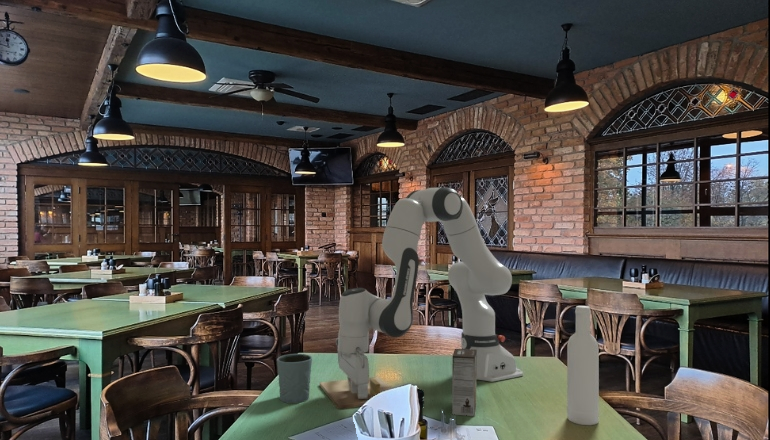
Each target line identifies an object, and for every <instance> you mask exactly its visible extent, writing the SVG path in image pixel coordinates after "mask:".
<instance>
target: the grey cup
mask: <svg viewBox="0 0 770 440" xmlns="http://www.w3.org/2000/svg"><path fill="white" fill-rule="evenodd" d="M312 361H313V356H311V355H309V354H304V353H289V354H284V355H281V356H279V357H278V358H277V359H276V365H277V374H278V386H279V400H280V401H281V402H282V403H287V404H299V403H304V402H306V401H308V400H309V399H310V387H311V384H310V383H311V374H312V373H311V372H312V363H313V362H312Z"/></svg>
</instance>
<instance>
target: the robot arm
mask: <svg viewBox="0 0 770 440" xmlns="http://www.w3.org/2000/svg"><path fill="white" fill-rule="evenodd" d="M425 222H426V223H436V222H441V223H442V226H443V230H444V233H445V235H446V238H447V240H448V243H449V246H450V249H451V251H452V253H453V255H454V256H455V257H456V258H458V259H459V260H460V261H459V262H455V263H453V264H452V265H451V266H450V267H449V270H448V274H447V279H448V282H449V284H450V286H452V287H451V288H453V289H454V291H455V292H456V294H457V297H458V300H459V303H460V307H461V313H462V315H461V316H462V332H461V335H460V336H461V338H460V342H461V343H460V345H461V349H476V350H477V375H476V381H477V380H479V381H485V382H493V383H494V382H497V381H499V382H500V381H503V380H508V379H513V378H518V377H523V376H524V372H523V370H521V369H519V368H518V367H517V363H516V359H515V357H514V355H513V354H512V353H511V352H509V351H508V350H507V349H506V348H505V347H503V346H502V345H501V344H500V342H502V343H504V342H505V340H506V337H505V336H504V335H501V334H500V335H498V334H496V312H495V310H494V309H493V307H492V306H491V305H490V304H489V303H488V301H487V298H486V296H500V295H504V294H506V293H508V291H509V290H510V289H511V287H512V284H513V283H512V282H513V276H512V272H511V271H510V269H509V268H508V267H506V266H505V265H503V264H502V263H501V262H500V261H499V260H498V259H497V258H496V257H495V255H493V253H492V252H491V251H490V249H489V248H488V246H487V245H486V243H485V241H484V239H483V236H482V233H481V231H480V228H479V225H478V223H477V221H476V217H475V216H474V213H473V211H472V209H471V207H470V205H469V203H468V202H467V200H466V199H465V198H464V197H462V196H461V195H460V194H459V192H458V191H456V190H455V189H453V188H450V187H446V186H444V187H427V188H424V189H418V190H414V191H411V192H410V193H409V194H407V196H406V197H405V198H401V199H399V200H398V201H397V202H395V205H394V206H393V208H392V210H391V212H390V215H389V216H388V219H387V222H386V225H385V228H384V232H383V234H382V235H383V236H382V243H381V247H382V250H383V252H384V254H385V255H386V256H387V257H388V259H390V260H391V261H392V262H393V264H394V265H395V268H396V276H395V281H394V287H393V291H392V297H391V298H390V299H386V298H381V297H379V296H377V295H374V294H372V293H371V292H369V291H368V290H367V289H366V288H363V287H351V288H349V289H346V290H344V291H343V292H342V293H341V295H340V298H339V306H338V322H339V330H338V334H337V335H338V337H336V339H335V345H336V346H337V361H338V363H337V364H338V367H339V369H340V370H341V371H342V372H343V373H344V374H345V375H346V376H347V380H348V383H349V391H350V392H351V393H357V387H358V385H366V384H368V383H369V378H370V365H369V364H370V363H369V358H368V357H367V355H365V353H366V352H368V351H369V337H370V334H369V332H370V331H371V330H374V331H377V332H380V333H383V334H384V335H387V336H389V337H391V338H400V337H403V336H404V335H406V334H407V333H408V332H409V330H410V329H411V327H412V325H413V321H414V309H413V307H414V306H413V305H414V298H415V297H414V296H415V291H416V286H417V281H418V280H417V278H418V272H419V266H420V265H419V264H420V262H419V261H420V259H419V254H418V247H419V242H420V241H419V240H420V236H421V232H422V229H423V225H424V224H425Z"/></svg>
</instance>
